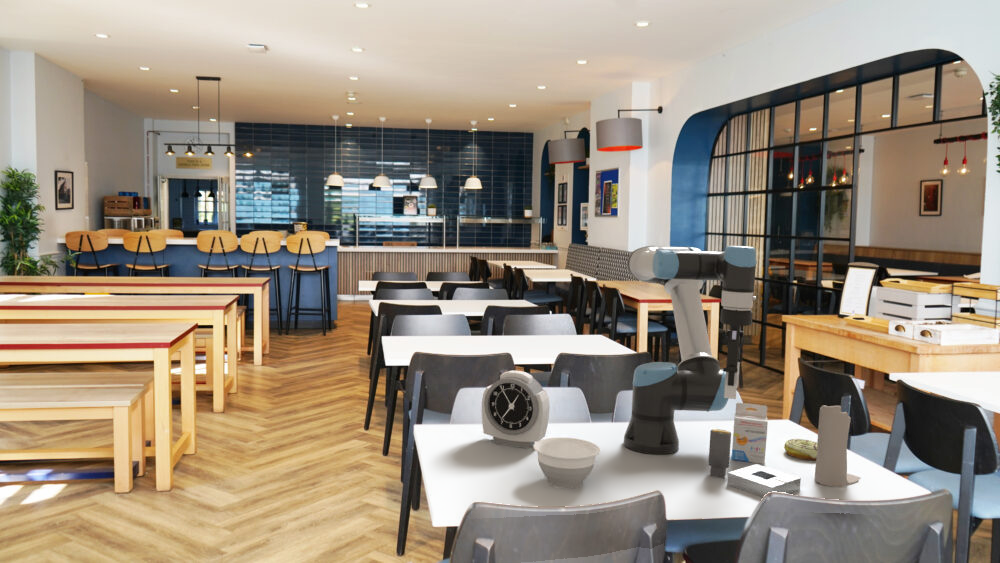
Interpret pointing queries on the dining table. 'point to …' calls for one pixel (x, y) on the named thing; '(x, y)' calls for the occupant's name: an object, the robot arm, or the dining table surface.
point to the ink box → (750, 433)
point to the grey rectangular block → (719, 452)
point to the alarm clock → (515, 410)
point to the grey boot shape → (833, 448)
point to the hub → (763, 480)
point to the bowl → (566, 460)
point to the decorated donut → (801, 449)
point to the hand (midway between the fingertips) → (731, 392)
